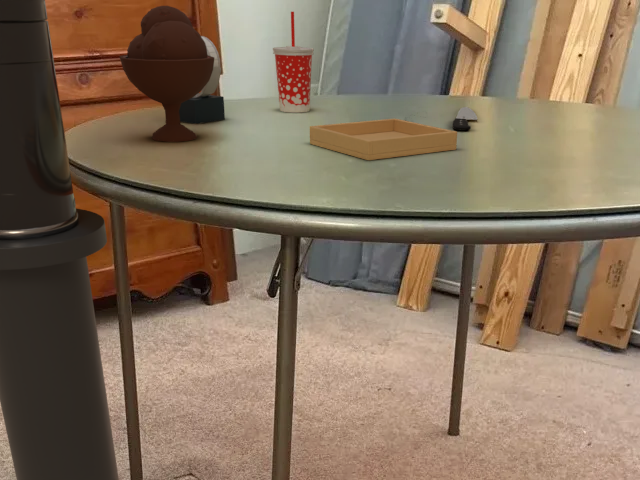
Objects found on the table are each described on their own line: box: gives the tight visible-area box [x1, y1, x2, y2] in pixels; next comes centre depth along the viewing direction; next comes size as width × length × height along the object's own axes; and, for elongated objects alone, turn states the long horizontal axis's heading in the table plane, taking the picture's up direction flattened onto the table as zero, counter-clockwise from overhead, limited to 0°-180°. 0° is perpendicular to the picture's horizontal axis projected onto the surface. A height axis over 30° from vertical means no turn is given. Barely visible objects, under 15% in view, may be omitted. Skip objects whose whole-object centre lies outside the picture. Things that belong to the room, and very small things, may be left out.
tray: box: [309, 118, 458, 161], centre depth 96 cm, size 13×12×2 cm
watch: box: [179, 35, 226, 125], centre depth 110 cm, size 6×8×11 cm
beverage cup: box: [272, 11, 314, 113], centre depth 120 cm, size 6×6×14 cm
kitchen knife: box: [452, 106, 478, 131], centre depth 118 cm, size 23×3×1 cm, turn 171°
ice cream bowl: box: [119, 5, 214, 143], centre depth 96 cm, size 11×11×15 cm
